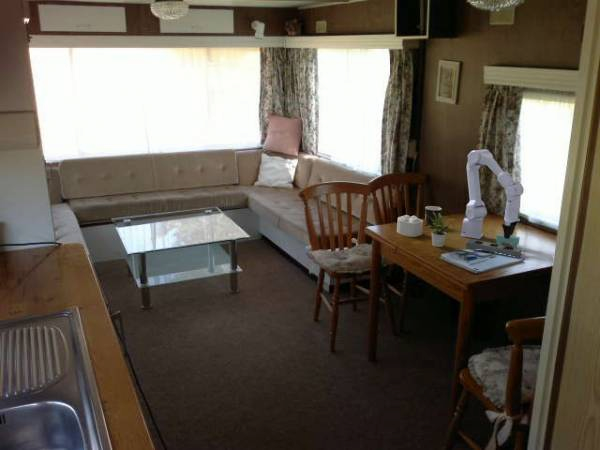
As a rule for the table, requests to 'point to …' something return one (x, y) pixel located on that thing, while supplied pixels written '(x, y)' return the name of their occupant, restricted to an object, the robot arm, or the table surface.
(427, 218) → the coffee mug
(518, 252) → the rail
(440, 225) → the house plant
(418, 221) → the lumpy-topped squat cylinder
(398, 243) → the table surface
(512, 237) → the teal rectangular block
